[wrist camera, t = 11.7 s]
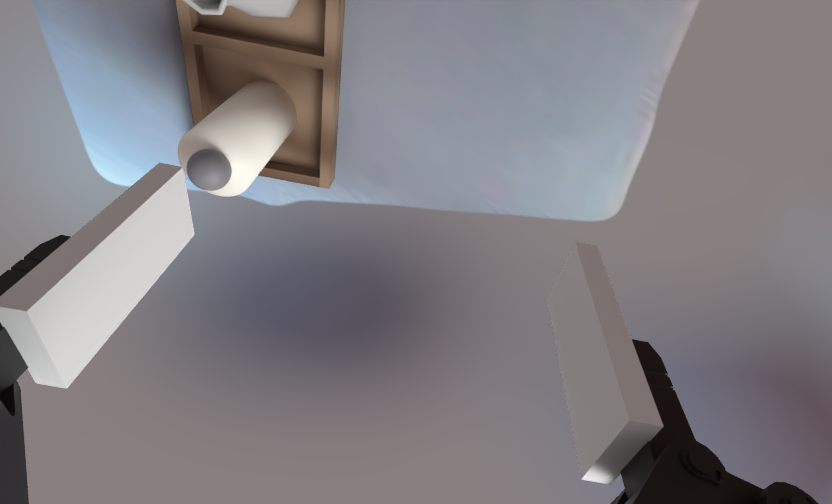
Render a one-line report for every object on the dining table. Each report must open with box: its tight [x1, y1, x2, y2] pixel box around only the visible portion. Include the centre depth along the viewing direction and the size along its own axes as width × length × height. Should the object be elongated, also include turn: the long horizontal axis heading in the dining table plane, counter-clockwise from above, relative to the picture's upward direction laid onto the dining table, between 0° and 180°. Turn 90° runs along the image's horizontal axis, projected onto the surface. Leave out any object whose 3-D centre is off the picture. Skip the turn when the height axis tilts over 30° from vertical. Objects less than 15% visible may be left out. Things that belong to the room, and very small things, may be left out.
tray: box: [176, 0, 345, 189], centre depth 39 cm, size 24×13×2 cm, turn 171°
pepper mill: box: [178, 80, 297, 196], centre depth 37 cm, size 6×6×14 cm
